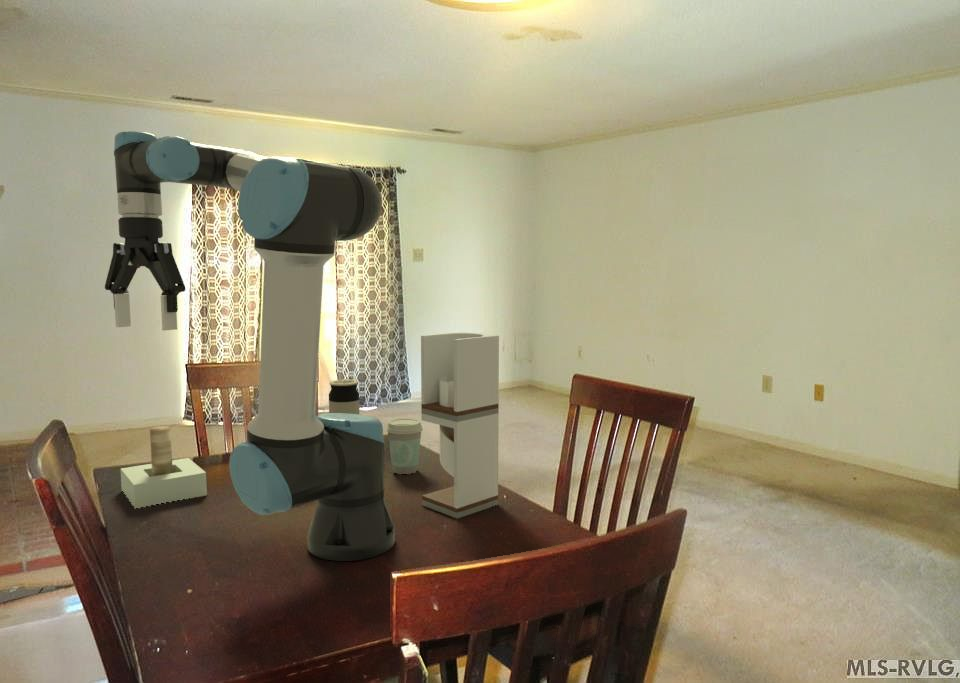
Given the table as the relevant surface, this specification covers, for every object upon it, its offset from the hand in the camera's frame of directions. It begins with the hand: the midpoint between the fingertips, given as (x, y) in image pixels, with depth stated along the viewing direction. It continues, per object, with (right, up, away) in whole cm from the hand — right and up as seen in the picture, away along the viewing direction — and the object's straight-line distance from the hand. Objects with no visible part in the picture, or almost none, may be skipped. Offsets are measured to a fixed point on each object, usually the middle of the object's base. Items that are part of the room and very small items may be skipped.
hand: (146, 328), depth 135 cm
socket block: (-3, -35, +15) cm, 39 cm away
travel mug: (+28, -31, +53) cm, 68 cm away
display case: (+61, -36, +8) cm, 71 cm away
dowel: (-3, -35, +15) cm, 38 cm away
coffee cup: (+47, -34, +32) cm, 66 cm away
